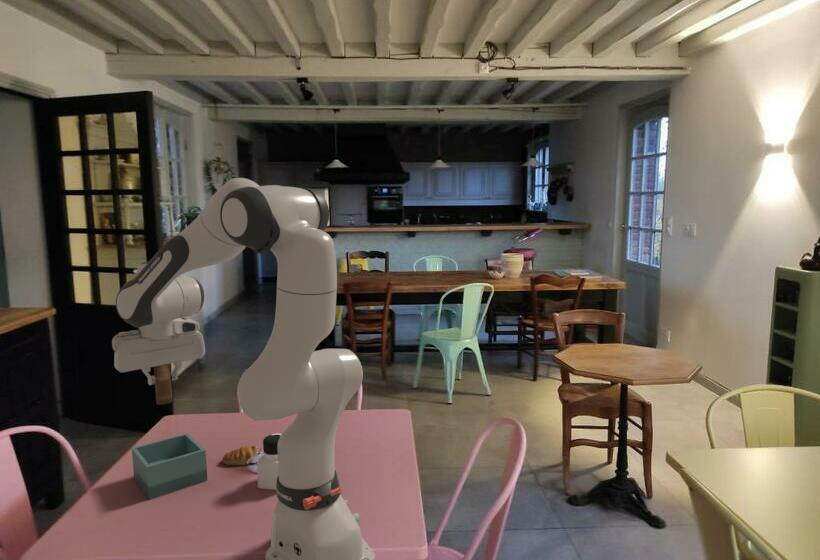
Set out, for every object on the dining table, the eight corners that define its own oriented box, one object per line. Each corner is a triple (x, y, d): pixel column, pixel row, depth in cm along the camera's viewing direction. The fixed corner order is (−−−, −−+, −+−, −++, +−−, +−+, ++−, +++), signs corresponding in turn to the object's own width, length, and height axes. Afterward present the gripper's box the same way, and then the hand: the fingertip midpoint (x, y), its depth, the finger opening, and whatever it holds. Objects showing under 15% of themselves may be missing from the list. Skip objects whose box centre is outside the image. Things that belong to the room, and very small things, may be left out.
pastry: (222, 469, 141) (221, 455, 140) (222, 458, 147) (222, 445, 146) (259, 464, 143) (259, 450, 143) (258, 453, 150) (257, 440, 149)
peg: (174, 402, 132) (171, 354, 131) (158, 405, 130) (155, 357, 128) (169, 398, 135) (166, 351, 134) (154, 401, 133) (151, 354, 131)
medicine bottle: (285, 491, 129) (282, 444, 127) (257, 488, 130) (255, 441, 129) (297, 477, 136) (295, 431, 134) (270, 474, 137) (268, 429, 136)
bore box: (207, 480, 135) (205, 450, 134) (149, 499, 126) (146, 467, 125) (189, 461, 145) (187, 433, 144) (134, 478, 136) (131, 447, 135)
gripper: (114, 336, 121) (119, 395, 123) (205, 322, 134) (208, 376, 136) (108, 331, 126) (112, 388, 128) (197, 318, 139) (200, 370, 141)
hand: (163, 381), depth 132 cm, fingers closed on peg, 4 cm apart
